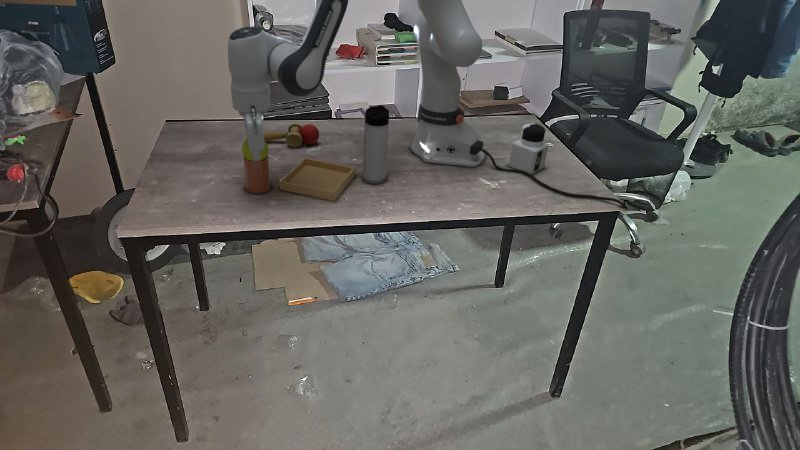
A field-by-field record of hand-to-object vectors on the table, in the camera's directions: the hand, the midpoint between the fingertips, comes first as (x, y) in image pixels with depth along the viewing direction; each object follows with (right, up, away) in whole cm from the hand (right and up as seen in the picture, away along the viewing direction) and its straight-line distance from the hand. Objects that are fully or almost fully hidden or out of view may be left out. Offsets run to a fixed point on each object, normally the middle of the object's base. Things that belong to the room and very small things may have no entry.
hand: (255, 152), depth 140 cm
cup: (-1, -8, +5) cm, 10 cm away
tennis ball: (0, +1, 0) cm, 1 cm away
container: (+74, -1, +26) cm, 78 cm away
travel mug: (+29, -6, +14) cm, 33 cm away
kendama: (+3, +6, +29) cm, 30 cm away
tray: (+14, -7, +10) cm, 19 cm away
